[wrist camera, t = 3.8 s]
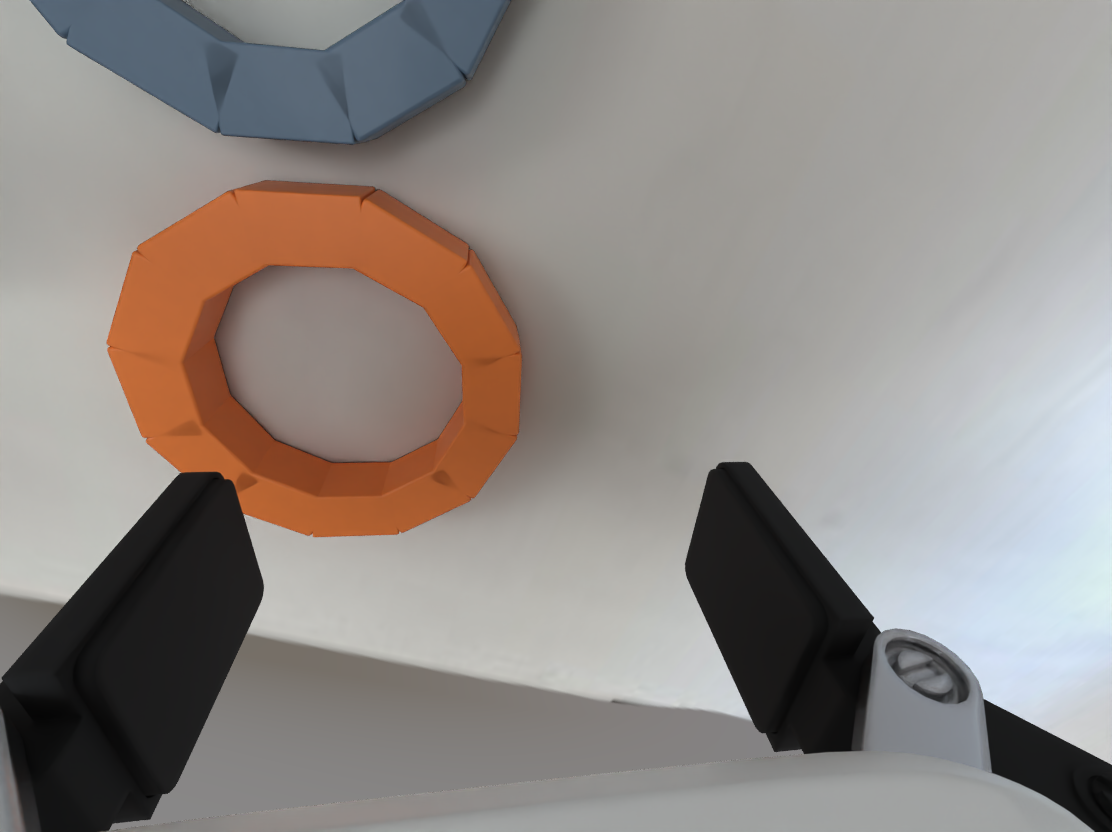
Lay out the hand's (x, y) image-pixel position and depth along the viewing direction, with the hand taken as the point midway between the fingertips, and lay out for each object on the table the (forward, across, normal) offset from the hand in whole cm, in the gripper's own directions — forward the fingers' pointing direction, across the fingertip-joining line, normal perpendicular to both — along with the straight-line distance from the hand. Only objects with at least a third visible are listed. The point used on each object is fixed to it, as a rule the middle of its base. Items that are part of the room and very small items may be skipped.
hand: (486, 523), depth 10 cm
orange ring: (+6, +4, -1) cm, 8 cm away
